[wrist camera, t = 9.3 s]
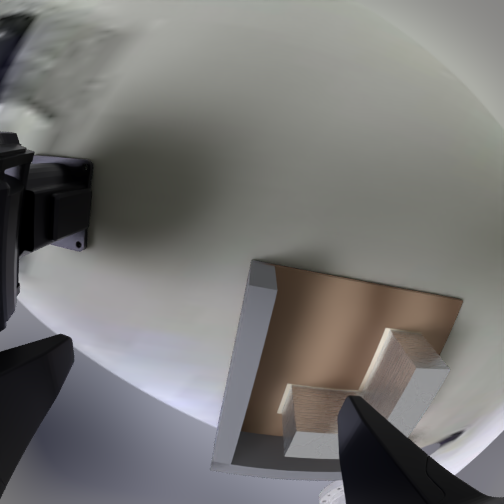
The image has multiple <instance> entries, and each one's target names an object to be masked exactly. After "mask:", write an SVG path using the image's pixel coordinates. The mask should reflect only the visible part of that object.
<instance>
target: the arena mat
mask: <svg viewBox="0 0 504 504" xmlns="http://www.w3.org/2000/svg"><path fill="white" fill-rule="evenodd" d="M261 264H266V263H261ZM266 265H271V266H275V273H276V282H277V295H276V299H275V303H274V307H273V311H272V315H271V319H270V323H269V327H268V331H267V335H266V339H265V343H264V347H263V350H262V354H261V358H260V362H259V366H258V370H257V373H256V377H255V381H254V384H253V388H252V392H251V396H250V399H249V403H248V406H247V410H246V414H245V417H244V421H243V424H242V428H241V431H243V432H250V433H257V434H265V435H273V436H283V425H282V409H283V406H284V403H285V401H286V398H287V396H288V393H289V390H290V387H291V385H298V386H306V387H314V388H324V389H334V390H346V391H359V392H362V390H363V388H364V386H365V384H366V382H367V379H368V377H369V375H370V373H371V371H372V369H373V367H374V365H375V363H376V360H377V358H378V356H379V354H380V352H381V349H382V347H383V345H384V342H385V340H386V338H387V335H388V333H389V331H390V330H395V331H403V332H411V333H419V334H422V335H423V337H424V338H425V339H426V340H427V341H428V343H429V344H430V345H431V346H432V347H433V349H434V350H435V351H436V352H437V354H438V355H440V353H441V351H442V349H443V347H444V345H445V343H446V341H447V338H448V336H449V334H450V332H451V329H452V327H453V325H454V322H455V320H456V318H457V315H458V313H459V310H460V308H461V305H462V303H463V301H462V300H461V299H457V298H451V297H446V296H440V295H435V294H430V293H424V292H419V291H413V290H408V289H402V288H397V287H392V286H386V285H381V284H376V283H370V282H365V281H360V280H354V279H349V278H344V277H338V276H333V275H328V274H323V273H317V272H312V271H307V270H302V269H297V268H291V267H286V266H281V265H276V264H268V263H267V264H266ZM250 266H251V265H250ZM249 271H250V270H249ZM248 276H249V275H248ZM247 281H248V280H247ZM246 286H247V285H246ZM242 305H243V304H242ZM241 310H242V309H241ZM240 315H241V314H240ZM239 320H240V319H239ZM238 325H239V324H238ZM237 330H238V329H237ZM236 335H237V334H236ZM235 340H236V339H235ZM234 345H235V344H234ZM230 364H231V363H230ZM229 369H230V368H229ZM228 374H229V373H228ZM227 379H228V378H227ZM226 384H227V383H226ZM225 389H226V388H225ZM219 418H220V417H219ZM218 423H219V422H218Z"/></svg>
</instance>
